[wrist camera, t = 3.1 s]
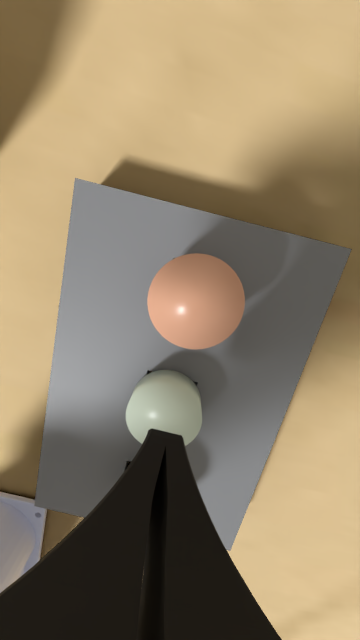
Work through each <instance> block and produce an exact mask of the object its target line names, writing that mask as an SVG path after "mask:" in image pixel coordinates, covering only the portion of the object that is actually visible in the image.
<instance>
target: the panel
mask: <svg viewBox="0 0 360 640" xmlns="http://www.w3.org/2000/svg"><path fill="white" fill-rule="evenodd" d="M351 250H352V249H349V248H345V247H341V246H337V245H334V244H330V243H326V242H322V241H318V240H314V239H310V238H306V237H303V236H299V235H295V234H291V233H287V232H283V231H279V230H275V229H271V228H268V227H264V226H260V225H256V224H252V223H248V222H244V221H240V220H236V219H233V218H229V217H225V216H221V215H217V214H213V213H209V212H205V211H202V210H198V209H194V208H190V207H186V206H182V205H178V204H174V203H170V202H167V201H163V200H159V199H155V198H151V197H147V196H143V195H139V194H135V193H132V192H128V191H124V190H120V189H116V188H112V187H108V186H104V185H100V184H97V183H93V182H89V181H85V180H81V179H77V178H75V183H74V191H73V199H72V207H71V215H70V223H69V231H68V239H67V247H66V255H65V263H64V271H63V279H62V287H61V295H60V303H59V311H58V319H57V327H56V335H55V343H54V351H53V359H52V367H51V375H50V383H49V391H48V399H47V407H46V415H45V423H44V431H43V439H42V447H41V455H40V463H39V471H38V480H37V488H36V496H35V504H34V506H36V507H40V508H45V509H49V510H54V511H58V512H62V513H67V514H71V515H76V516H80V517H84V518H85V517H86V516H87V515H88V514H89V513H90V512H91V511H92V510H93V509H94V508H95V507H96V505H97V504H98V503H99V502H100V501H101V500H102V499H103V498H104V496H105V495H106V494H107V493H108V492H109V491H110V489H111V488H112V487H113V486H114V484H115V483H116V482H117V481H118V479H119V478H120V477H121V475H122V474H123V473H124V471H125V470H126V469H127V467H128V466H127V465H128V461H132V460H133V458H134V457H135V455H136V454H137V452H138V451H139V449H140V447H141V446H142V444H141V443H140V442H139V441H137V440H136V439H135V438H134V436H133V435H132V434H131V432H130V431H129V429H128V426H127V423H126V409H127V405H128V403H129V401H130V398H131V396H132V393H133V391H134V389H135V387H136V385H137V383H138V382H139V381H140V380H141V379H142V378H143V377H144V376H146V375H147V374H149V371H153V372H154V371H158V370H173V371H177V372H180V373H182V374H184V375H185V376H187V377H188V378H190V379H191V380H192V381H193V382H194V384H195V385H196V386H197V388H198V390H199V393H200V397H201V409H202V425H201V428H200V431H199V433H198V435H197V436H196V437H195V439H194V440H193V441H192V442H190V443H189V444H188V445H186V446H185V448H186V452H187V456H188V459H189V463H190V466H191V469H192V472H193V475H194V478H195V481H196V483H197V486H198V489H199V492H200V494H201V497H202V499H203V502H204V504H205V506H206V509H207V511H208V513H209V516H210V518H211V520H212V522H213V524H214V527H215V529H216V531H217V533H218V535H219V537H220V539H221V541H222V543H223V545H224V546H225V548H226V550H229V551H230V550H231V547H232V545H233V542H234V540H235V537H236V535H237V532H238V530H239V528H240V525H241V523H242V520H243V518H244V515H245V513H246V510H247V508H248V505H249V503H250V500H251V498H252V495H253V493H254V490H255V488H256V485H257V483H258V480H259V478H260V475H261V473H262V470H263V468H264V465H265V463H266V461H267V458H268V456H269V453H270V451H271V448H272V446H273V443H274V441H275V438H276V436H277V433H278V431H279V428H280V426H281V423H282V421H283V418H284V416H285V413H286V411H287V408H288V406H289V403H290V401H291V398H292V396H293V394H294V391H295V389H296V386H297V384H298V381H299V379H300V376H301V374H302V371H303V369H304V366H305V364H306V361H307V359H308V356H309V354H310V351H311V349H312V346H313V344H314V341H315V339H316V336H317V334H318V331H319V329H320V327H321V324H322V322H323V319H324V317H325V314H326V312H327V309H328V307H329V304H330V302H331V299H332V297H333V294H334V292H335V289H336V287H337V284H338V282H339V279H340V277H341V274H342V272H343V269H344V267H345V264H346V262H347V260H348V257H349V255H350V252H351ZM194 253H199V254H207V255H211V256H214V257H216V258H218V259H220V260H222V261H224V262H225V263H227V264H228V265H229V266H230V267H231V268H232V269H233V270H234V271H235V273H236V274H237V276H238V277H239V279H240V281H241V283H242V286H243V289H244V295H245V307H244V312H243V316H242V319H241V321H240V323H239V325H238V327H237V328H236V329H235V331H234V332H233V333H232V334H231V335H230V336H229V337H228V338H227V339H225V340H224V341H222V342H221V343H219V344H217V345H215V346H212V347H209V348H205V349H187V348H182V347H179V346H177V345H174V344H172V343H171V342H169V341H167V340H166V339H165V338H164V337H163V336H162V335H161V334H160V333H159V332H158V331H157V330H156V328H155V327H154V325H153V323H152V321H151V319H150V316H149V312H148V305H147V298H148V291H149V288H150V285H151V283H152V280H153V279H154V277H155V275H156V274H157V273H158V271H159V270H160V269H161V268H162V267H163V266H164V265H165V264H167V263H168V262H169V261H171V260H173V259H175V258H177V257H179V256H182V255H186V254H194Z"/></svg>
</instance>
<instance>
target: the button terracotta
mask: <svg viewBox="0 0 360 640" xmlns="http://www.w3.org/2000/svg"><path fill="white" fill-rule="evenodd" d="M147 305H148V312H149V316H150V319H151V321H152V323H153V325H154V327H155V328H156V330H157V331H158V332H159V333H160V334H161V335H162V336H163V337H164V338H165V339H166V340H167V341H169V342H171V343H172V344H174V345H177V346H179V347H182V348H187V349H205V348H209V347H212V346H215V345H217V344H219V343H221V342H222V341H224V340H225V339H227V338H228V337H229V336H230V335H231V334H232V333H233V332H234V331H235V329H236V328H237V327H238V325H239V323H240V321H241V319H242V316H243V312H244V307H245V295H244V289H243V286H242V283H241V281H240V279H239V277H238V276H237V274H236V273H235V271H234V270H233V269H232V268H231V267H230V266H229V265H228V264H227V263H225V262H224V261H222V260H220V259H218V258H216V257H214V256H211V255H207V254H199V253H194V254H186V255H182V256H179V257H177V258H175V259H173V260H171V261H169V262H168V263H167V264H165V265H164V266H163V267H162V268H161V269H160V270H159V271H158V273H157V274H156V275H155V277H154V279H153V280H152V283H151V285H150V288H149V291H148V298H147Z"/></svg>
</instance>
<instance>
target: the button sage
mask: <svg viewBox="0 0 360 640" xmlns="http://www.w3.org/2000/svg"><path fill="white" fill-rule="evenodd" d="M126 423H127V426H128V429H129V431H130V432H131V434H132V435H133V436H134V438H135V439H136V440H137V441H139V442H140V443H141V444H143V442H144V440H145V438H146V436H147V433H148V430H150V429H151V428H153V429H157V430H161V431H165V432H169V433H173V434H178V435H182V437H183V439H184V444H185V446H186V445H188V444H189V443H190V442H192V441H193V440H194V439H195V437H196V436H197V435H198V433H199V431H200V428H201V425H202V409H201V397H200V393H199V390H198V388H197V386H196V385H195V384H194V382H193V381H192V380H191V379H190V378H188V377H187V376H185V375H184V374H182V373H180V372H177V371H173V370H158V371H154V372H151V373H149V374H147V375H146V376H144V377H143V378H142V379H141V380H140V381H139V382H138V383H137V385H136V387H135V389H134V391H133V393H132V396H131V398H130V401H129V403H128V405H127V409H126Z"/></svg>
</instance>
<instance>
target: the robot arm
mask: <svg viewBox="0 0 360 640" xmlns="http://www.w3.org/2000/svg"><path fill="white" fill-rule="evenodd" d="M34 504H35V500H34V499H30V498H26V497H21V496H17V495H13V494H8V493H4V492H0V640H282V639H281V638H280V637H279V635H278V634H277V632H276V631H275V629H274V628H273V626H272V625H271V623H270V622H269V620H268V619H267V617H266V616H265V614H264V613H263V611H262V610H261V608H260V606H259V605H258V603H257V602H256V600H255V598H254V597H253V595H252V593H251V592H250V590H249V588H248V587H247V585H246V583H245V582H244V580H243V578H242V577H241V575H240V573H239V572H238V570H237V568H236V567H235V565H234V563H233V561H232V560H231V558H230V556H229V554H228V552H227V550H226V548H225V546H224V545H223V543H222V541H221V539H220V537H219V535H218V533H217V531H216V529H215V527H214V524H213V522H212V520H211V518H210V516H209V513H208V511H207V509H206V506H205V504H204V502H203V499H202V497H201V494H200V492H199V489H198V486H197V483H196V481H195V478H194V475H193V472H192V469H191V466H190V463H189V459H188V456H187V452H186V448H185V444H184V439H183V437H182V435H178V434H173V433H169V432H165V431H161V430H157V429H153V428H151V429H150V430H148V433H147V436H146V438H145V440H144V442H143V444H142V446H141V447H140V449H139V451H138V452H137V454H136V455H135V457H134V458H133V460H132V461H131V463H130V464H129V466H128V467H127V469H126V470H125V471H124V473H123V474H122V475H121V477H120V478H119V479H118V481H117V482H116V483H115V484H114V486H113V487H112V488H111V489H110V491H109V492H108V493H107V494H106V495H105V496H104V498H103V499H102V500H101V501H100V502H99V503H98V504H97V505H96V507H95V508H94V509H93V510H92V511H91V512H90V513H89V514H88V515H87V516H86V517H85V518H84V519H83V520H82V521H81V522H80V523H79V524H78V525H77V526H76V527H75V528H74V529H73V530H72V531H71V532H70V533H69V534H68V535H67V536H66V537H65V538H64V539H63V540H62V541H61V542H60V543H58V544H57V545H56V546H55V547H54V548H53V549H52V550H51V551H50V552H48V553H47V554H46V555H45V556H44V557H43V558H42V559H41V560H40V555H41V548H42V541H43V534H44V527H45V520H46V513H47V509H45V508H40V507H36V506H34ZM143 570H144V572H143ZM142 579H143V581H142ZM141 588H142V589H141Z"/></svg>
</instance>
